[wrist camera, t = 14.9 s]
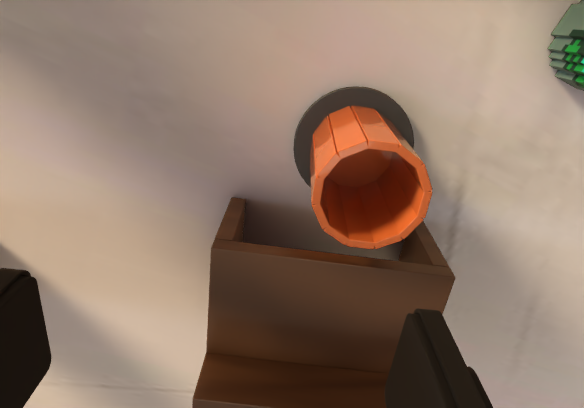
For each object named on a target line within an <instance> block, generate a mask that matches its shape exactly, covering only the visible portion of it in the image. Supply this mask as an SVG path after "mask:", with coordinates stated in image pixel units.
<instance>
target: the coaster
mask: <svg viewBox="0 0 584 408" xmlns="http://www.w3.org/2000/svg"><path fill="white" fill-rule="evenodd" d="M348 106H350V107H351V106H360V107H367V108H373V109H376V110H377V111H378V112H379V113H381V114H382V115H383V116H384V117H386V118H387V119H388V120H389V121H391V122H392V124H393V125H394V126H395V127H396V129H397V130H398V131H399V132H400V134H401V135H402V136H403V137H404V139H405V140H406V141H407V142H408V144H409V145H410V146H411V147H412V149H413V146H414V138H413V131H412V127H411V124H410V121H409V119H408V117H407V115H406V114H405V112H404V111H403V109H402V108H401V107H400V106H399V105H398V104H397V103H396V102H395V101H394V100H393V99H392V98H390V97H389V96H387V95H386V94H384V93H382V92H380V91H377V90H374V89H371V88H366V87H346V88H341V89H338V90H335V91H332V92H330V93H328V94H326V95H324V96H323V97H321V98H320V99H318V100H317V101H316V102H315V103H314V104H312V105H311V106H310V108H309V109H308V110H307V111H306V112H305V114H304V115H303V117H302V118H301V120H300V122H299V125H298V127H297V130H296V134H295V139H294V157H295V162H296V165H297V168H298V171H299V172H300V174H301V176H302V178H303V179H304V181H305V182H306V183H307V184H308V185H309V186H310V187H311V173H310V150H311V143H312V137H313V134H314V131H315V130H316V129H317V128H318V126H319V125H320V124H321V123H322V121H323V120H324V119H325V118H326V116H327V115H328V116H329V114H330V113H333V112H335V111H338V110H340V109H343V108H345V107H348Z"/></svg>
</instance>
